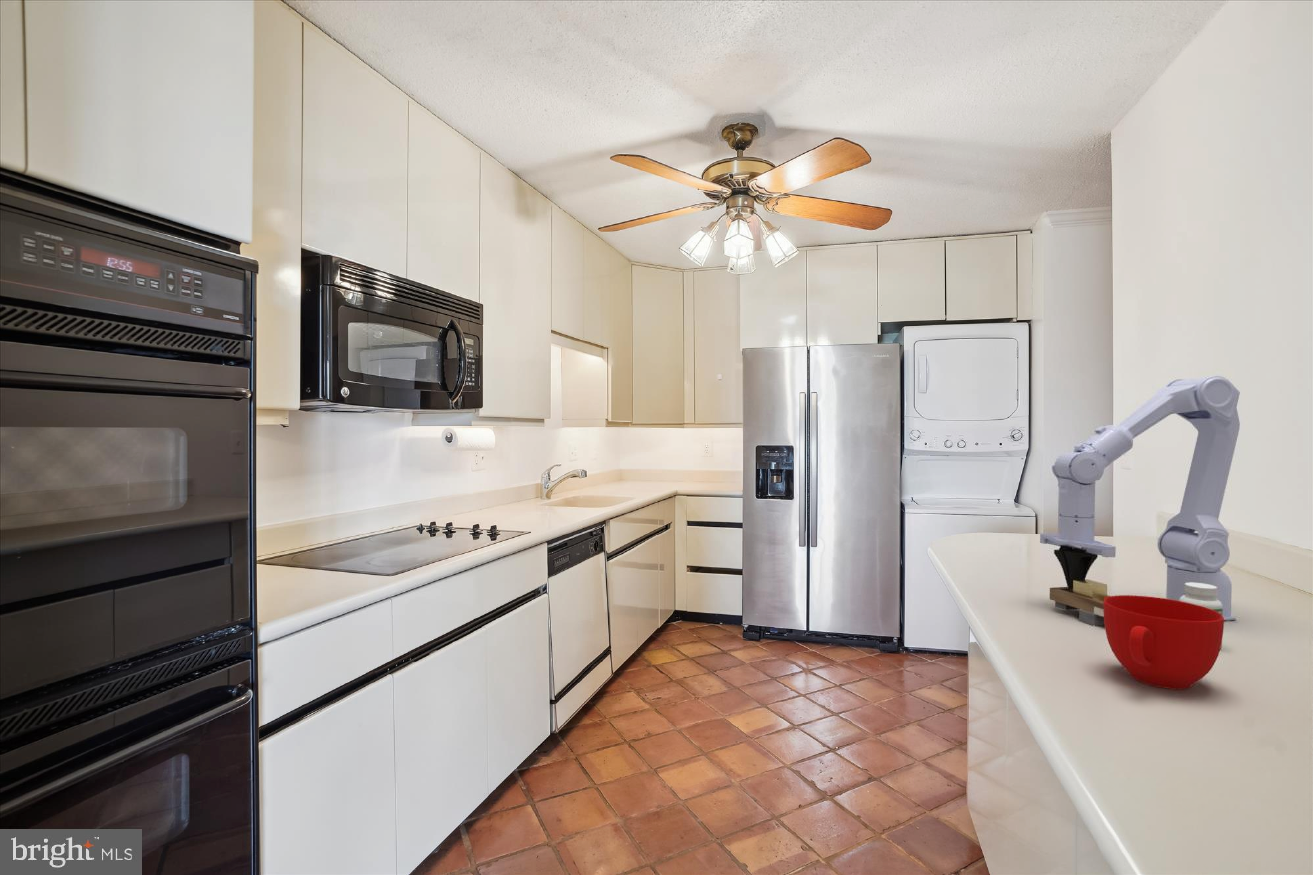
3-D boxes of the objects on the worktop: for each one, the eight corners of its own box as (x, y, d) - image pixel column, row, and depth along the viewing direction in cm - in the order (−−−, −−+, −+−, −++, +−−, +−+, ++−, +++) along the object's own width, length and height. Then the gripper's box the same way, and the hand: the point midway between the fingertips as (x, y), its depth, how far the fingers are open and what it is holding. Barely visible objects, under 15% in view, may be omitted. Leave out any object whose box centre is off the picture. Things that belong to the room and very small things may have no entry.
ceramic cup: (1076, 682, 86) (1077, 608, 86) (1119, 656, 96) (1121, 590, 96) (1198, 717, 76) (1200, 634, 76) (1233, 684, 86) (1235, 610, 86)
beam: (1077, 607, 123) (1077, 586, 122) (1166, 636, 106) (1166, 611, 106) (1047, 609, 121) (1047, 587, 121) (1132, 638, 104) (1132, 613, 104)
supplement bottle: (1185, 637, 106) (1186, 579, 106) (1227, 646, 101) (1228, 586, 101) (1172, 642, 103) (1173, 583, 103) (1215, 652, 98) (1216, 590, 98)
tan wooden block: (1087, 596, 118) (1087, 579, 118) (1106, 602, 114) (1107, 584, 114) (1073, 597, 118) (1073, 580, 118) (1092, 603, 114) (1092, 585, 114)
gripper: (1027, 511, 125) (1026, 580, 125) (1093, 522, 111) (1091, 599, 111) (1057, 510, 127) (1056, 578, 127) (1125, 521, 113) (1124, 597, 113)
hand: (1074, 588), depth 119 cm, fingers closed
